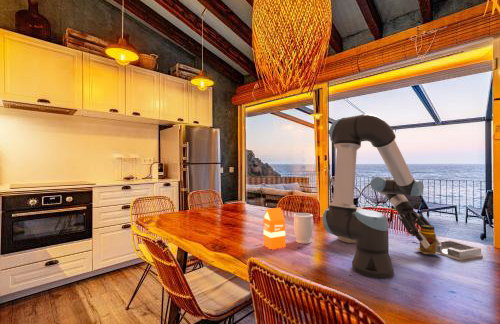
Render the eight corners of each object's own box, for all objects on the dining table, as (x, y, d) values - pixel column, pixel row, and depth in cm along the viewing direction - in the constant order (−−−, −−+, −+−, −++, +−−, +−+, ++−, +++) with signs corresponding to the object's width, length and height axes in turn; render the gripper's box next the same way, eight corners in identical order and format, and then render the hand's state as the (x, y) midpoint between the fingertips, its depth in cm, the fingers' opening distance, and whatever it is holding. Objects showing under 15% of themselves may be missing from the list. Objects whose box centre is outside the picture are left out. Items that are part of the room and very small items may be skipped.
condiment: (425, 254, 111) (425, 227, 111) (412, 248, 120) (412, 223, 120) (441, 254, 111) (441, 227, 112) (427, 248, 120) (427, 223, 120)
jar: (316, 241, 137) (316, 214, 137) (307, 245, 129) (306, 217, 130) (300, 237, 144) (299, 211, 144) (290, 241, 137) (289, 214, 137)
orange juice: (263, 245, 132) (263, 207, 132) (277, 242, 135) (277, 206, 135) (271, 249, 124) (270, 210, 125) (285, 247, 128) (285, 208, 128)
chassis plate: (458, 260, 107) (458, 252, 107) (428, 250, 120) (428, 242, 120) (482, 256, 111) (482, 248, 111) (450, 246, 124) (450, 239, 124)
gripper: (411, 208, 133) (443, 248, 117) (382, 210, 128) (411, 252, 112) (420, 199, 128) (454, 240, 112) (391, 201, 123) (422, 244, 107)
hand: (433, 246), depth 112 cm, fingers closed on condiment, 6 cm apart
